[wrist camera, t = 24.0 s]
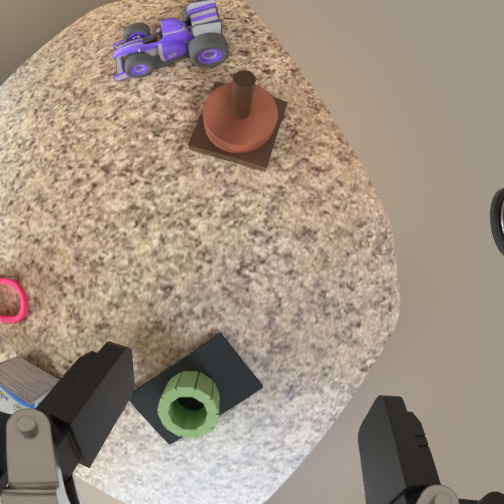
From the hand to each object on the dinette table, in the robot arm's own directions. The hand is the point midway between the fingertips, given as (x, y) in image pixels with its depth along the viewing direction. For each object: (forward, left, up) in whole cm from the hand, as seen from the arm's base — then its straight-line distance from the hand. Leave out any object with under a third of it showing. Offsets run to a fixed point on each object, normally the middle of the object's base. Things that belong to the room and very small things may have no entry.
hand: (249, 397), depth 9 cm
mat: (+1, +11, -25) cm, 28 cm away
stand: (+5, -20, -25) cm, 32 cm away
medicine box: (+21, +18, -25) cm, 38 cm away
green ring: (+1, +11, -24) cm, 27 cm away
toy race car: (+18, -29, -25) cm, 42 cm away
